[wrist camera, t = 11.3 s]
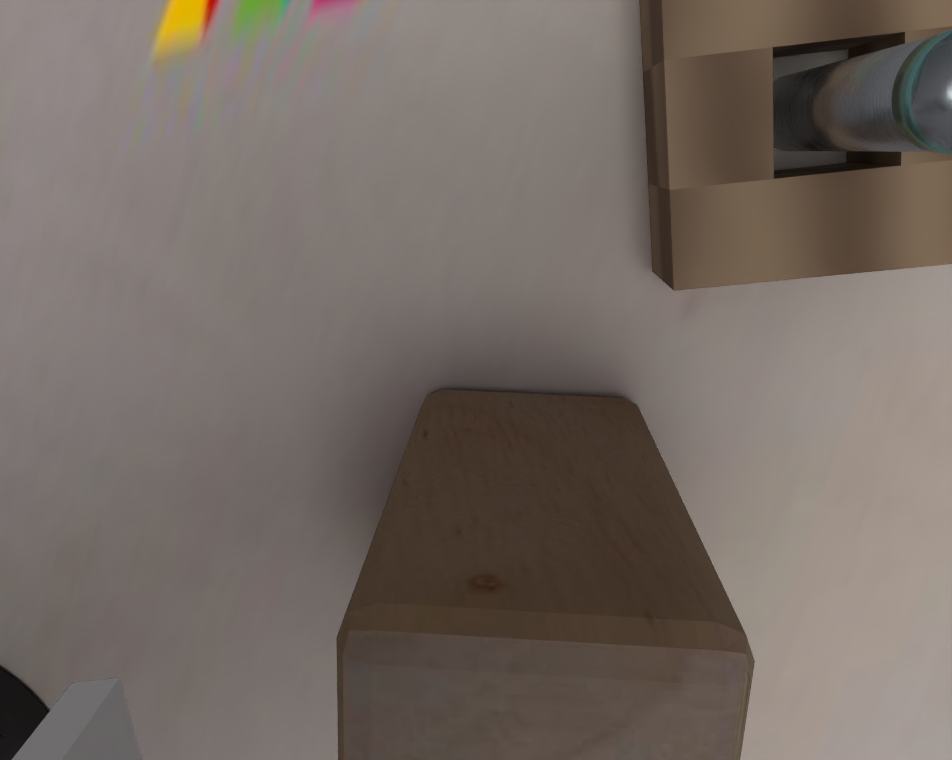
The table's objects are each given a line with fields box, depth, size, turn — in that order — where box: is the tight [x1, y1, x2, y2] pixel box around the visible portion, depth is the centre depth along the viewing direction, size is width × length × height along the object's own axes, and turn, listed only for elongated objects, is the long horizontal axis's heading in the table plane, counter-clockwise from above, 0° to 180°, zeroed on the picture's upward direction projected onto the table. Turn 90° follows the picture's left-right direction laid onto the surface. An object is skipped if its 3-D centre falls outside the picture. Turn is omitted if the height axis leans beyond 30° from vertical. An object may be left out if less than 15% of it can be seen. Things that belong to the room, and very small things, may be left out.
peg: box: [773, 29, 952, 154], centre depth 27 cm, size 3×3×14 cm
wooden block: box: [337, 389, 755, 760], centre depth 29 cm, size 10×10×20 cm
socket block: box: [640, 0, 952, 290], centre depth 31 cm, size 12×12×5 cm
